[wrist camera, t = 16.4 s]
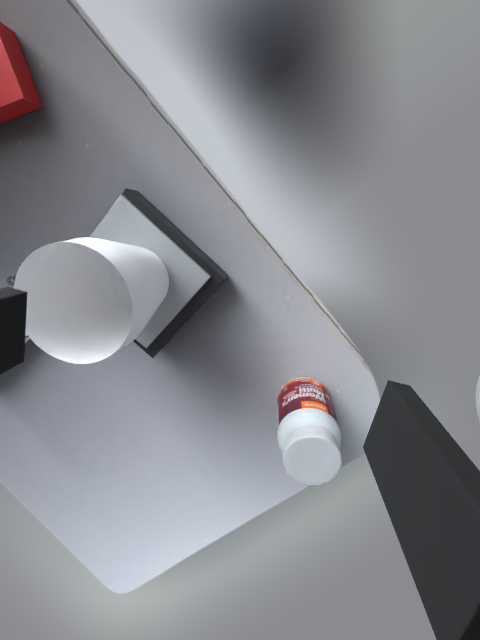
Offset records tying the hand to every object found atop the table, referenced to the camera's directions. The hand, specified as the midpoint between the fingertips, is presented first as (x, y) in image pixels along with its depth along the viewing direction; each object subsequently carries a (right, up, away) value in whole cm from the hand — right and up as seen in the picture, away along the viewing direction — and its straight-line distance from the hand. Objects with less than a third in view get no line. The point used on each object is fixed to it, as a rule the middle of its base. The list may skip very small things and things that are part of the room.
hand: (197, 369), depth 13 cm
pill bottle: (+9, -7, +29) cm, 31 cm away
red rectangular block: (-23, +26, +23) cm, 42 cm away
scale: (-9, +7, +27) cm, 29 cm away
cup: (-9, +6, +24) cm, 26 cm away
